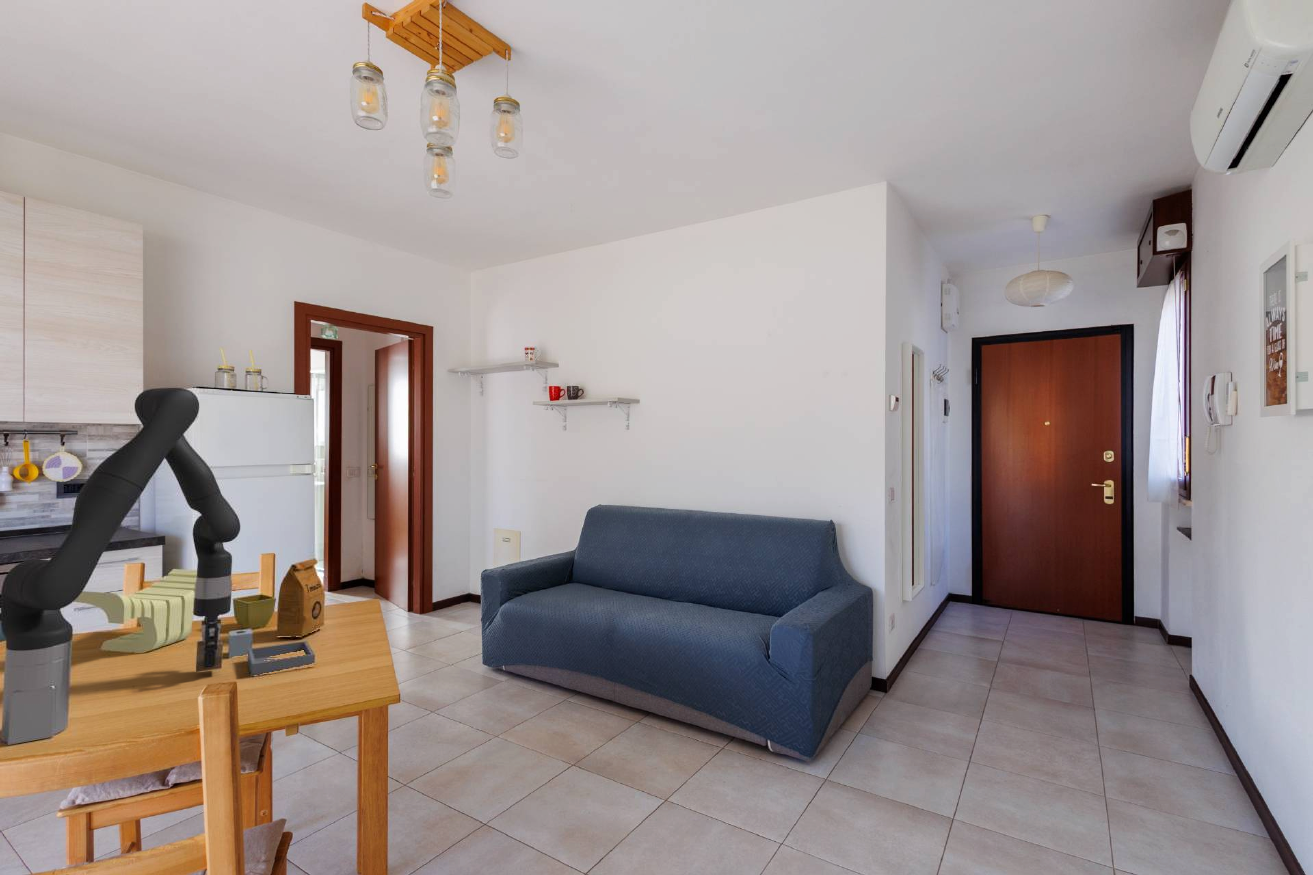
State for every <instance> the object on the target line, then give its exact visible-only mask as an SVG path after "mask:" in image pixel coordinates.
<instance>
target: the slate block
mask: <svg viewBox="0 0 1313 875" xmlns="http://www.w3.org/2000/svg"><path fill="white" fill-rule="evenodd" d="M228 632H229V633H228V648H227V649H228V650H227V651H228V652H227V654H229V655H228V659H229V658H231V659H233V658H232V657H234V656H243V655H247V654H248V649H251V648H253V633H254V632H253V629H245V628H243V629H239V630H231V631H228Z"/></svg>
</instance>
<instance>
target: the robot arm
mask: <svg viewBox="0 0 1313 875" xmlns="http://www.w3.org/2000/svg"><path fill="white" fill-rule="evenodd" d="M134 412H135V414H136V416H137V419H138V420H139V421H140V423H141V425H142V428H141V429H140V430H139V432H137V434H136V435H135V436H134V437H133V438H132V439H130V440H129V441H128V442H126V443H125V444H124V445H123V446H122V447H120V448H118V449H117V450H116V451H115V452H113V453H112V454H110V455H109V456H108V457H107V458H105V459H104V460H103V461H102V462H100V464H99V465H98V466H97V467H96V468H95V469H94V471H93V472H92V473H91V475H90V476H89V477H88V478H87V480H86V481H85V483H84V484H83V486H82V487H81V488H80V490H79V492H78V494H77V497H76V499H75V502H74V506H73V513H72V515H73V516H72V521H71V527H70V530H69V532H68V534H67V535H66V537H65V539H64V541H63V542H62V543H61V545H60V546H59V548H58V549H57V550H56V551H55V553H54V554H53V555H52V556H51V558H50V559H42V558H41V559H38V558H37V559H35V558H34V559H29V560H25V561H22V562H20V563H19V564H17V565H15V566H13V567H12V568H11V569H10V570H9V571H8V573H7V574H6V575H5V577H4V580H3V581H2V586H1V591H0V628H1V633H2V634H3V636H4V638H5V644H6V645H5V659H4V660H5V661H4V675H3V676H4V678H3V692H2V693H3V695H2V696H3V697H2V711H1V712H2V714H1V731H0V739H1V741H2V742H4V743H6V745H8V746H9V745H10V746H11V745H16V744H21V743H26V742H32V741H37V740H38V741H39V740H44V739H49V738H53V737H54V736H55V735H56V734H58V733H60V732H62V731H64V730H66V728H68V726H69V710H70V708H69V707H70V692H71V691H70V690H71V687H70V686H71V672H72V671H71V670H72V669H71V668H72V667H71V666H72V665H71V664H72V653H73V652H72V649H73V635H74V634H73V633H74V632H73V631H74V629H73V625H72V623H70V622H69V621H68V620H67V619H66V618H65V616H64V615H63V613H62V611H61V609H64V608H65V607H67V606H69V605H71V604H73V603H74V602H73V601H74V600H76V599H77V598H78V596H79V595H80V594H81V593H82V591H84V589H85V588H86V586H87V585H88V583H89V581H90V579H91V577H92V575H93V573H94V571H95V569H96V567H97V565H98V563H99V561H100V559H101V557H102V556H103V553H104V551H105V550H106V548H107V546H108V545H109V543H110V542H111V540H112V539H113V537H114V536H115V534H116V533H117V531H118V530H119V527H121V524H122V522H124V519H125V518H126V517H127V515H128V514H129V512H131V510H132V508H133V507H134V506H135V504H136V502H137V500H138V499H139V498H140V497H141V495H142V494H143V492H144V490H145V488H146V487H147V485H148V484H149V482H150V481H151V479H152V478H153V476H154V474H155V473H156V472H157V471H158V469H159V467H160V466H161V464H162V463H163V462H164V460H166V463H167V464H168V465H169V467H170V468H171V471H172V472H173V474H174V476H175V478H176V480H177V484H178V485H179V487H180V490H181V491H182V494H183V497H184V499H185V501H186V503H187V506H189V508H190V509H192V510H194V511H196V512H198V513H199V514H200V515H199V516H198V517H197V518H196V520H195V522H194V524H193V527H192V539H193V544H194V549H195V550H194V551H195V553H196V556H197V567H196V570H197V578H196V583H195V592H194V608H193V614H194V616H196V617H199V618H200V617H202V618H203V617H204V618H203V620H201V622H200V624H201V625H200V627H201V629H200V630H201V641H202V642H203V643H204V649H203V651H204V668H209V667H214V666H215V655H216V650H217V649H218V647H217V641H218V640H219V639H220V636H221V635H220V634H221V633H220V632H221V628H222V619H221V618H219V616H220V615H221V616H222V615H226V614H229V613H230V611H231V605H232V590H233V589H232V587H233V583H232V582H233V580H232V572H233V571H232V568H233V555H232V554H231V552H229V551H228V550H226V549H225V547H224V543H229V542H232V541H233V540H235V539H236V538H237V537H239V534H240V532H241V522H240V518H239V515H237V513H236V511H235V510H234V509H233V507H232V505H231V504H230V503H229V501H227V499H226V498H225V497H224V496H223V494H222V492H221V488H220V486H219V485H218V482H217V479H216V477H215V474H214V473H213V470H211V467H210V466H209V465H208V464H207V462H206V461H205V460H204V459H203V458H202V456H200V455H199V453H198V452H197V451H196V450H195V449H194V448H193V447H192V446H191V444H190V442H188V440H187V438H186V436H185V435H184V434H185V433H186V432H187V431H188V430H189V428H190V427H191V426H192V425H193V423H194V422H195V421H196V420H197V417H198V415H199V412H200V401H199V399H198V397H197V396H196V394H195V393H194V392H193V391H191V390H189V389H188V388H183V387H182V388H181V387H159V388H158V387H156V388H148V389H146V390H143V391H142V392H140V393H139V395H138V396H137V397H136V399H135V402H134ZM218 618H219V619H218ZM210 642H214V646H207V644H208V643H210Z"/></svg>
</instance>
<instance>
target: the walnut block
mask: <svg viewBox="0 0 1313 875" xmlns="http://www.w3.org/2000/svg"><path fill="white" fill-rule="evenodd" d="M207 646H214V642H210V643H208V644H207ZM217 647H218V649H217V650H216V655H215V666H214V667H209V668H204V651H203V649H204V643H203V642H202V640H199V641H197V642H196V657H195V659H196V660H195V672H196V673H199V672H207V671H212V670H218V669H222V664H223V649H224V648H223V647H224V643H223V638H219V640H218V641H217Z"/></svg>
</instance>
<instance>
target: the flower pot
mask: <svg viewBox="0 0 1313 875" xmlns="http://www.w3.org/2000/svg"><path fill="white" fill-rule="evenodd" d="M276 602H277V597H274V596H271V595H268V594H263V593H261V594H260V593H259V594H252V595H247V596H240V597H236V598H232V605H233V606H232V608H233V615H234V618H235V620H236V622H237V623H236V624H238V626H239V627H240V628H242V629H245V628H246V629H251V628H255V629H258V628H257V627H260V628H262V627H261V626H265V627H266V626H267V625H268V624H269V623H270V621H271V619H272V617H273V614H274V611H275V607H276ZM251 630H252V629H251Z"/></svg>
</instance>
